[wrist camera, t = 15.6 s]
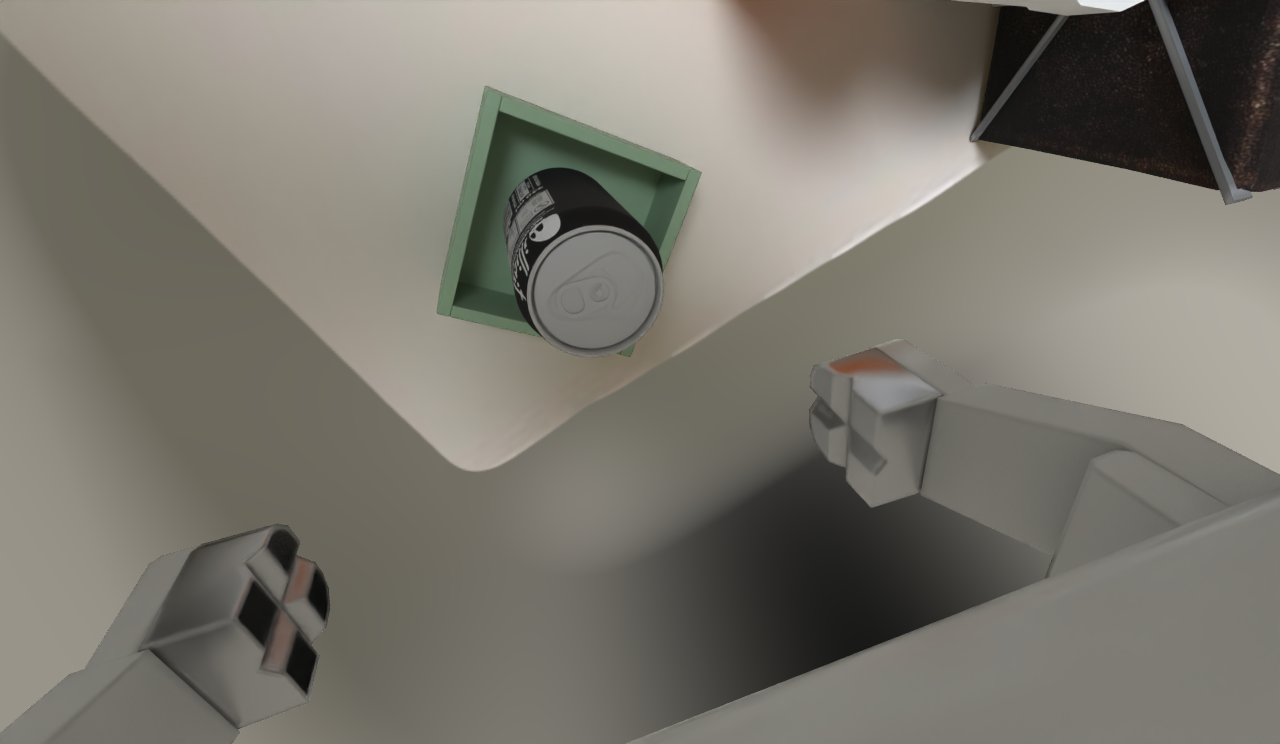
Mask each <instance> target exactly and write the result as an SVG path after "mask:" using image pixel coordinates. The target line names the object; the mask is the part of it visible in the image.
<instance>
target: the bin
mask: <svg viewBox="0 0 1280 744" xmlns="http://www.w3.org/2000/svg"><path fill="white" fill-rule="evenodd" d="M556 167H563V168H571V169H575V170H578V171H581V172H583V173H585V174H587V175H589V176H590V177H592V178H593V179H594V180H596V181H597V182H598V183H599V184H600V185H601V186H602V187H603V188H604V189H605V190H606V191H607V192H608V193H609V194H610V195H611V196H612V197H613V198H614V199H615V200H616V201H617V202H618V203H619V204H621V205H622V206H623V207H624V208H625V209H626V210H627V211H628V212H629V213H630V214H631V215H632V216H633V217H634V218H635V219H636V220H637V221H638V222H639V223H640V224H641V225H642V226H643V227H644V228H645V229H646V230H647V231H648V233H649V234H650V235H651V237H652V238H653V240H654V242H655V244H656V246H657V248H658V250H659V253H660V256H661V260H662V266H663V271H664V268H665V266H666V263H667V261H668V258H669V256H670V253H671V250H672V248H673V245H674V243H675V240H676V238H677V235H678V232H679V230H680V227H681V225H682V222H683V220H684V217H685V214H686V212H687V209H688V207H689V204H690V202H691V199H692V196H693V194H694V191H695V189H696V186H697V184H698V181H699V178H700V176H701V172H700V171H698V170H696V169H694V168H692V167H690V166H688V165H686V164H684V163H682V162H680V161H677V160H675V159H673V158H670V157H668V156H665V155H663V154H660V153H657V152H655V151H652V150H650V149H647V148H645V147H642V146H639V145H637V144H634V143H632V142H629V141H627V140H624V139H621V138H619V137H616V136H614V135H611V134H609V133H606V132H603V131H601V130H598V129H596V128H593V127H590V126H588V125H585V124H583V123H580V122H578V121H575V120H572V119H570V118H567V117H565V116H562V115H560V114H557V113H554V112H552V111H549V110H547V109H544V108H541V107H539V106H536V105H534V104H531V103H529V102H526V101H523V100H521V99H518V98H516V97H513V96H511V95H508V94H505V93H503V92H500V91H498V90H495V89H493V88H490V87H487V86H485V88H484V93H483V97H482V102H481V106H480V111H479V115H478V120H477V124H476V129H475V133H474V138H473V142H472V146H471V151H470V155H469V160H468V164H467V169H466V173H465V178H464V182H463V187H462V191H461V196H460V200H459V205H458V209H457V213H456V218H455V222H454V227H453V231H452V236H451V240H450V245H449V249H448V254H447V258H446V263H445V267H444V271H443V276H442V280H441V285H440V292H439V300H438V307H437V314H440V315H444V316H450V317H453V318H458V319H462V320H467V321H471V322H476V323H480V324H485V325H489V326H494V327H498V328H503V329H507V330H512V331H516V332H521V333H525V334H530V335H534V336H539V337H541V336H540V335H539V334H538V333H537V332H535V331H534V330H533V329H532V328H531V326H530V325H529V324H528V323H527V321H526V320H525V319H524V317H523V315H522V313H521V311H520V309H519V307H518V304H517V301H516V297H515V292H514V287H513V281H512V276H511V270H510V265H509V259H508V254H507V248H506V242H505V237H504V231H503V217H504V211H505V207H506V204H507V202H508V200H509V198H510V196H511V194H512V193H513V191H514V190H515V188H516V187H517V186H518V185H519V184H520V183H521V182H522V181H523V180H525V179H526V178H527V177H529V176H530V175H532V174H534V173H536V172H538V171H541V170H544V169H548V168H556ZM635 343H636V342H635ZM635 343H634V344H633V345H631V346H629V347H628V348H626V349H624V350H622V351H620V352H617V353H615V354H620V355H624V356H628V357H630V356H631V353H632V351H633V348H634V345H635Z"/></svg>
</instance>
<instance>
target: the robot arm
mask: <svg viewBox="0 0 1280 744" xmlns="http://www.w3.org/2000/svg"><path fill="white" fill-rule="evenodd" d="M810 388H811V389H812V390H813V391H814V392H815V393H816V394H817V395H818V396H817V398H816V400H815V401H814V403H813V404H812V406H811V408H810V409H809V421H810V429H811V431H812V435H813V438H814V441H815V443H816V445H817V446H818V448H819V450H820V452H821V453H822V454H823V455H824V456H825V457H826V458H827V460H828V461H829V462H831V463H834V464H837V465H840V466H842V467H845V468H846V478H845V479H846V481H847V482H848V483H849V484H850V485H851V486H852V487H853V488H854V490H855V491H856V492H857V493H858V494H859V495H860V496H861V497H862V498H863V499H864V500H865V502H867V504H868V505H869V506H870V507H871V508H872V507H875V506H878V505H881V504H884V503H887V502H890V501H894V500H897V499H900V498H903V497H906V496H910V495H913V494H916V493H919V492H921V494H920V495H922V496H924V497H926V498H928V499H930V500H933V501H935V502H937V503H939V504H941V505H943V506H945V507H947V508H950V509H952V510H954V511H956V512H958V513H960V514H963V515H965V516H967V517H969V518H971V519H973V520H975V521H978V522H980V523H982V524H984V525H986V526H988V527H991V528H993V529H995V530H997V531H999V532H1001V533H1003V534H1006V535H1008V536H1010V537H1012V538H1014V539H1017V540H1018V541H1021V542H1023V543H1025V544H1027V545H1029V546H1031V547H1034V548H1036V549H1038V550H1040V551H1042V552H1044V553H1047V554H1049V555H1051V556H1053V558H1052V560H1051V563H1050V565H1049V568H1048V571H1047V573H1046V576H1045V578H1044V580H1042V581H1039V582H1037V583H1034V584H1032V585H1029V586H1027V587H1024V588H1021V589H1019V590H1017V591H1014V592H1011V593H1009V594H1006V595H1004V596H1001V597H999V598H996V599H993V600H991V601H988V602H986V603H983V604H981V605H978V606H976V607H973V608H970V609H968V610H966V611H963V612H960V613H958V614H955V615H953V616H950V617H948V618H945V619H942V620H940V621H937V622H935V623H932V624H930V625H927V626H925V627H922V628H919V629H917V630H914V631H912V632H909V633H907V634H904V635H902V636H899V637H897V638H894V639H891V640H889V641H886V642H884V643H881V644H879V645H877V646H874V647H871V648H869V649H866V650H863V651H861V652H859V653H856V654H853V655H851V656H848V657H846V658H843V659H840V660H838V661H836V662H833V663H830V664H828V665H825V666H823V667H820V668H818V669H815V670H813V671H810V672H808V673H805V674H802V675H800V676H797V677H795V678H792V679H790V680H787V681H785V682H782V683H779V684H777V685H774V686H772V687H769V688H767V689H764V690H761V691H759V692H756V693H754V694H751V695H749V696H747V697H744V698H741V699H739V700H736V701H734V702H731V703H728V704H726V705H724V706H721V707H718V708H716V709H713V710H710V711H708V712H705V713H703V714H700V715H698V716H695V717H693V718H690V719H688V720H685V721H683V722H680V723H678V724H675V725H672V726H670V727H667V728H665V729H662V730H660V731H657V732H655V733H652V734H650V735H647V736H644V737H642V738H639V739H637V740H634V741H632V742H629V743H627V744H1280V474H1277V473H1276V472H1274V471H1271V470H1270V469H1268V468H1266V467H1264V466H1262V465H1260V464H1258V463H1256V462H1254V461H1252V460H1250V459H1248V458H1247V457H1245V456H1242V455H1241V454H1239V453H1237V452H1235V451H1233V450H1231V449H1229V448H1227V447H1225V446H1223V445H1221V444H1219V443H1217V442H1216V441H1214V440H1211V439H1210V438H1208V437H1206V436H1204V435H1202V434H1200V433H1198V432H1196V431H1194V430H1192V429H1190V428H1188V427H1186V426H1185V425H1183V424H1178V423H1174V422H1169V421H1164V420H1160V419H1154V418H1150V417H1145V416H1140V415H1136V414H1131V413H1126V412H1121V411H1117V410H1112V409H1107V408H1102V407H1098V406H1093V405H1088V404H1083V403H1078V402H1073V401H1069V400H1064V399H1060V398H1055V397H1050V396H1045V395H1041V394H1036V393H1031V392H1026V391H1021V390H1016V389H1012V388H1007V387H1002V386H998V385H993V384H988V383H983V384H980V385H977V386H976V385H975V384H973V383H972V382H970V381H969V380H967V379H965V378H964V377H962V376H961V375H959V374H958V373H956V372H955V371H953V370H951V369H950V368H948V367H947V366H945V365H944V364H942V363H940V362H939V361H937V360H936V359H934V358H933V357H931V356H929V355H928V354H926V353H925V352H923V351H922V350H920V349H918V348H917V347H915V346H914V345H912V344H911V343H909V342H907V341H905V340H899V339H895V340H892V341H889V342H886V343H883V344H880V345H877V346H874V347H871V348H869V349H868V350H865V351H861V352H858V353H854V354H851V355H848V356H844V357H841V358H838V359H834V360H831V361H828V362H825V363H821V364H818V365H814V366H813V369H812V371H811V374H810ZM299 544H300V540H299V539H298V538H297V536H296V535H295V534H294V532H293V531H292V530H291V529H290V527H289V526H288V525H283V524H274V525H270V526H266V527H263V528H259V529H256V530H252V531H248V532H245V533H241V534H237V535H233V536H230V537H226V538H222V539H219V540H215V541H211V542H208V543H204V544H202V545H200V546H194V547H191V548H187V549H184V550H180V551H177V552H173V553H170V554H166V555H163V556H161V557H159V558H158V559H156V560H154V561H153V562H151V563H150V564H149V565H148V567H147V568H146V570H145V572H144V573H143V575H142V577H141V578H140V580H139V581H138V583H137V584H136V586H135V588H134V590H133V591H132V593H131V594H130V596H129V597H128V599H127V601H126V602H125V604H124V606H123V607H122V609H121V610H120V612H119V614H118V616H117V617H116V619H115V620H114V622H113V624H112V625H111V627H110V628H109V630H108V632H107V633H106V635H105V636H104V638H103V640H102V641H101V643H100V645H99V646H98V648H97V649H96V651H95V653H94V654H93V656H92V658H91V659H90V661H89V663H88V664H87V666H86V667H85V669H84V670H81V671H78V672H75V673H72V674H69V675H68V676H67V677H66V678H64V679H63V680H62V681H61V682H60V683H59V684H57V685H56V686H55V687H54V688H53V689H51V690H50V691H49V692H48V693H47V694H46V695H44V696H43V697H42V698H41V699H40V700H38V701H37V702H36V703H35V704H34V705H33V706H31V707H30V708H29V709H28V710H27V711H26V712H24V713H23V714H22V715H21V716H20V717H19V718H18V719H16V720H15V721H14V722H13V723H12V724H10V725H9V726H8V727H7V728H6V729H4V730H3V731H2V732H1V733H0V744H232V743H233V741H234V740H235V739H236V737H237V736H238V734H239V733H240V732H239V730H238V729H240V728H243V727H245V726H248V725H250V724H253V723H256V722H259V721H261V720H264V719H267V718H269V717H272V716H274V715H277V714H280V713H283V712H285V711H288V710H290V709H293V708H296V707H299V706H301V705H304V704H306V703H308V702H309V698H310V694H311V690H312V685H313V681H314V677H315V673H316V669H317V664H318V660H319V654H318V653H317V652H316V650H315V649H314V648H313V647H312V643H313V642H314V641H315V640H316V638H317V637H318V636H319V635H320V634H321V632H322V631H323V630H324V629H325V628H326V626H327V621H328V616H329V611H330V600H329V588H328V585H327V582H326V580H325V577H324V575H323V573H322V571H321V570H320V568H319V567H318V565H317V564H316V562H314V561H311V560H309V559H306V558H303V557H301V556H298V555H297V551H298V547H299Z"/></svg>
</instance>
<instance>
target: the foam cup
mask: <svg viewBox="0 0 1280 744" xmlns="http://www.w3.org/2000/svg"><path fill="white" fill-rule="evenodd" d="M953 1H965V2H976V3H988V4H1000V5H1012V6H1023V7H1027V8H1028V9H1029V10H1033V11H1040V12H1046V13H1053V14H1059V15H1066V16H1070V15H1083V14H1096V13H1110V12H1121V11H1123V10H1125V9H1127V8H1129V7H1132V6H1134V5H1136V4H1138V3H1140V2H1142V1H1144V0H953Z"/></svg>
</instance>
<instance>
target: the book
mask: <svg viewBox="0 0 1280 744" xmlns="http://www.w3.org/2000/svg"><path fill="white" fill-rule="evenodd" d="M999 6H1001V9H1000V15H999V21H998V27H997V33H996V39H995V45H994V51H993V56H992V61H991V66H990V72H989V77H988V82H987V88H986V93H985V98H984V103H983V109H982V114H981V119H980V124H979V126H978V127H977V129H976V130H975V131H974V133H973V134H972V136H971V137H970V139H971V140H972V142H973V141H978V140H984V141H989V142H994V143H999V144H1005V145H1010V146H1015V147H1020V148H1026V149H1032V150H1036V151H1041V152H1046V153H1051V154H1055V155H1061V156H1065V157H1070V158H1075V159H1080V160H1085V161H1090V162H1094V163H1099V164H1104V165H1109V166H1114V167H1119V168H1124V169H1128V170H1133V171H1137V172H1141V173H1146V174H1150V175H1154V176H1159V177H1163V178H1167V179H1171V180H1176V181H1180V182H1184V183H1188V184H1193V185H1197V186H1201V187H1206V188H1210V189H1215V190H1220V192H1221V194H1222V197H1223V200H1224V203H1225V205H1228V204H1232V203H1236V202H1240V201H1244V200H1247V199H1249V198H1252V194H1251V192H1262V191H1267V190H1271V189H1274V190H1275V189H1279V188H1280V0H1144V1H1142V2H1140V3H1138V4H1136V5H1134V6H1132V7H1129V8H1127V9H1125V10H1123V11H1121V12H1110V13H1096V14H1083V15H1070V16H1066V15H1059V14H1053V13H1046V12H1040V11H1033V10H1029V9H1028V8H1027V7H1023V6H1012V5H1000V4H993V5H992V7H999Z"/></svg>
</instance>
